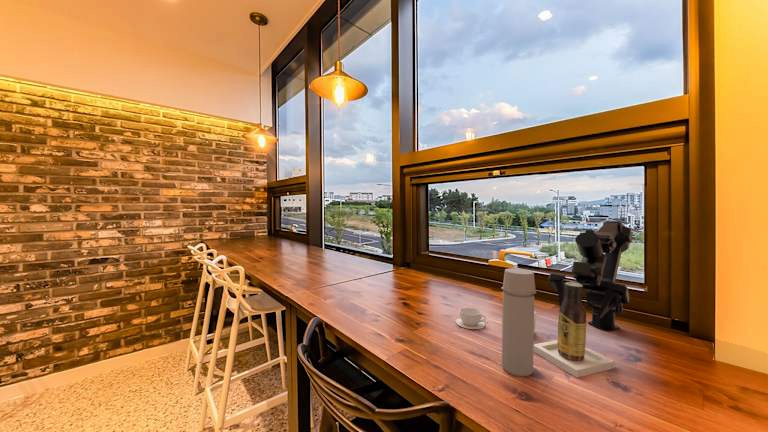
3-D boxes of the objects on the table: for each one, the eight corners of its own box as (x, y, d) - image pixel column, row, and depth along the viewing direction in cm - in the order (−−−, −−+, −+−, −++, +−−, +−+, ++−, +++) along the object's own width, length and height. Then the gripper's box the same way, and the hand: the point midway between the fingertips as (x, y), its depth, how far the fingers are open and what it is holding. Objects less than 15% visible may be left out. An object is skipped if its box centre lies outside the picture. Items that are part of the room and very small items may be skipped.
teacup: (454, 327, 94) (454, 314, 94) (457, 317, 104) (457, 304, 104) (485, 332, 91) (485, 318, 91) (485, 321, 100) (485, 308, 100)
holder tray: (566, 344, 83) (567, 338, 83) (614, 368, 70) (614, 361, 70) (532, 350, 79) (532, 344, 79) (576, 377, 66) (576, 370, 66)
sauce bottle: (553, 348, 79) (555, 279, 78) (579, 351, 77) (580, 281, 77) (562, 361, 72) (564, 285, 72) (590, 364, 71) (591, 287, 70)
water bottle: (533, 382, 64) (535, 276, 64) (497, 372, 69) (499, 272, 68) (536, 364, 72) (537, 268, 71) (503, 355, 76) (505, 265, 76)
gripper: (550, 247, 88) (535, 288, 81) (628, 255, 73) (617, 306, 67) (559, 268, 93) (545, 308, 87) (633, 279, 79) (623, 329, 72)
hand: (579, 312), depth 78 cm, fingers open, 9 cm apart
